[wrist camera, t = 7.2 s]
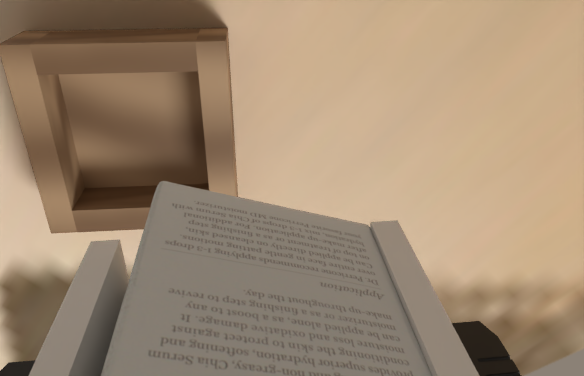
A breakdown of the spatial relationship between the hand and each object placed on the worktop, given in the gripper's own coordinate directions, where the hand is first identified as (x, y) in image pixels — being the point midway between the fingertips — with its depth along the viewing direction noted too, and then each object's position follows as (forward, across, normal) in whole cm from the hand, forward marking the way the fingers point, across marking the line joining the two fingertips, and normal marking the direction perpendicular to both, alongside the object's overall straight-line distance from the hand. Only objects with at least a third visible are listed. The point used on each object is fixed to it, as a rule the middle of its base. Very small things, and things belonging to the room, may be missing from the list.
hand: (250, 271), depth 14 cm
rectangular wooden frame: (+18, -6, -2) cm, 19 cm away
